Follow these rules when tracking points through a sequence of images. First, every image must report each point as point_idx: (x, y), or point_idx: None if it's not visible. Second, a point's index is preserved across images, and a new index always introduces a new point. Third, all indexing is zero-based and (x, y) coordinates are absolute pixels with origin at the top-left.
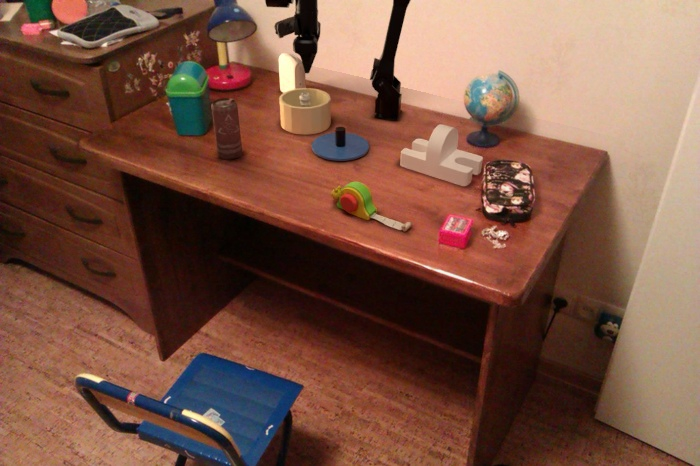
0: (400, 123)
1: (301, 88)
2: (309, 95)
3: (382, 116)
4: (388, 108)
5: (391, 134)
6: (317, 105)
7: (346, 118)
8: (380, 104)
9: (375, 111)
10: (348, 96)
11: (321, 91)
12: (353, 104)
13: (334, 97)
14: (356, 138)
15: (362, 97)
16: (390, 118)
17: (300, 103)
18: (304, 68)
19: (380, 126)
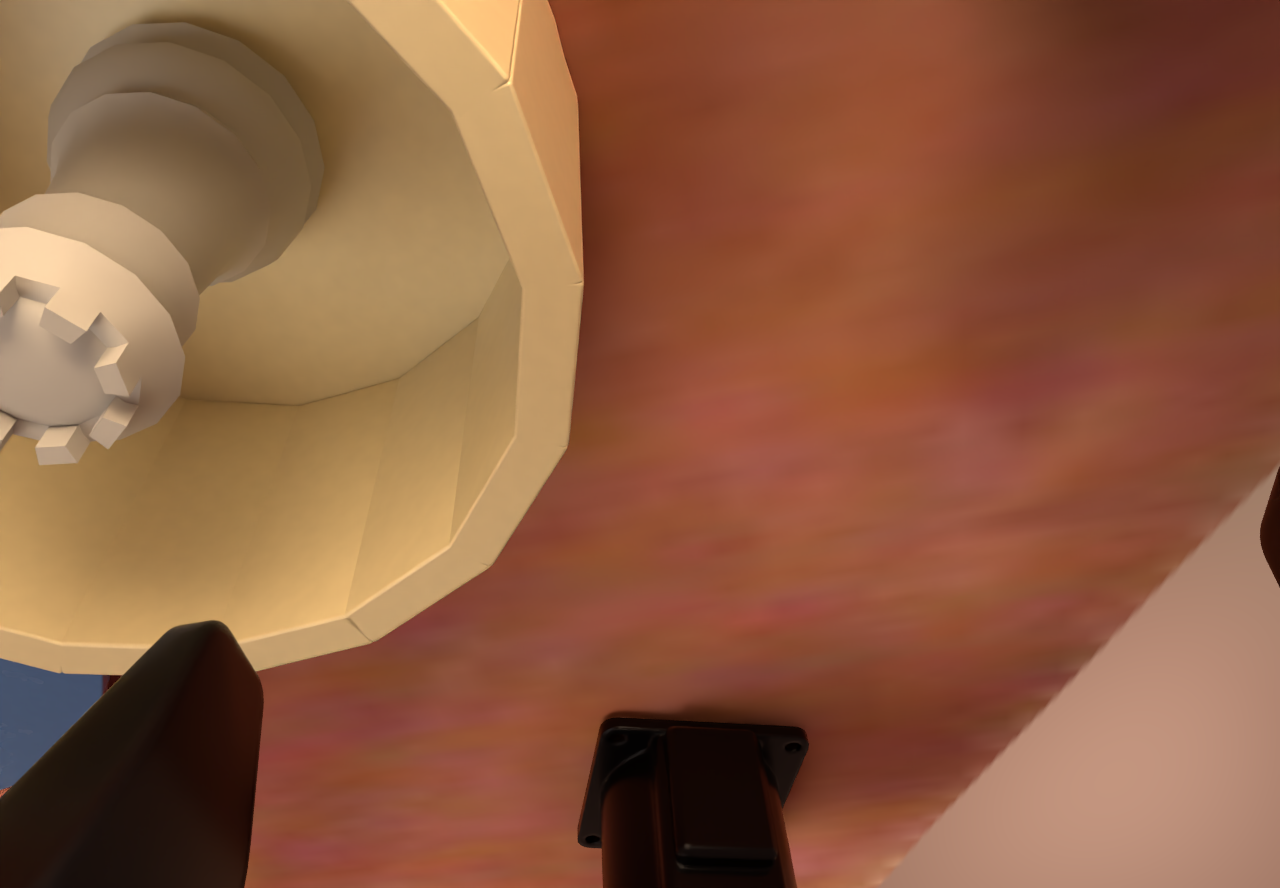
0: (551, 849)
1: (513, 149)
2: (57, 453)
3: (612, 772)
4: (603, 883)
5: (331, 833)
6: (514, 300)
7: (535, 524)
8: (638, 856)
9: (666, 743)
10: (1149, 440)
11: (473, 522)
12: (914, 521)
13: (1138, 301)
14: (16, 716)
15: (1103, 562)
16: (586, 816)
17: (13, 211)
18: (45, 771)
19: (449, 764)
